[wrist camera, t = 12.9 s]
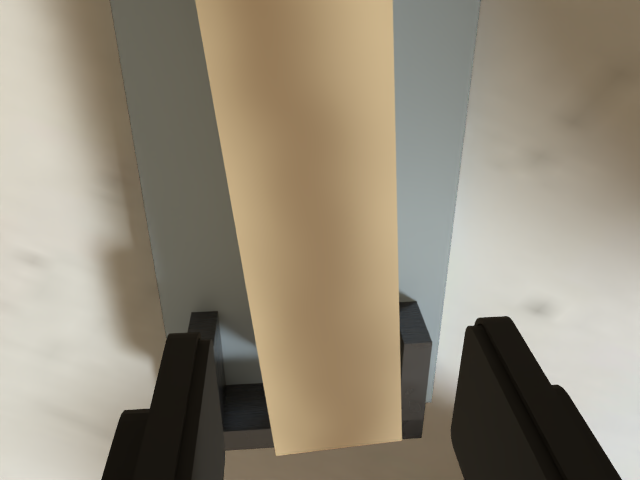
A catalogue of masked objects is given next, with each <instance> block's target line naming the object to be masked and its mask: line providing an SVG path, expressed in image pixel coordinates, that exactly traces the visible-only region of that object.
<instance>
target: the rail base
mask: <svg viewBox="0 0 640 480" xmlns="http://www.w3.org/2000/svg"><path fill="white" fill-rule="evenodd" d="M480 2H481V0H393V36H394V84H395V132H396V179H397V227H398V274H399V322H400V369H401V417H402V439H411V438H421V437H422V428H423V420H424V411H425V403H426V402H432V393H433V385H434V377H435V369H436V361H437V353H438V345H439V336H440V328H441V320H442V312H443V304H444V296H445V287H446V279H447V271H448V263H449V255H450V247H451V239H452V230H453V222H454V214H455V206H456V198H457V190H458V182H459V173H460V165H461V157H462V149H463V141H464V133H465V125H466V116H467V108H468V100H469V92H470V84H471V76H472V67H473V59H474V51H475V43H476V35H477V27H478V19H479V10H480ZM110 4H111V10H112V16H113V21H114V27H115V33H116V39H117V45H118V51H119V57H120V63H121V69H122V75H123V81H124V87H125V93H126V99H127V105H128V111H129V117H130V123H131V129H132V135H133V141H134V147H135V153H136V159H137V165H138V171H139V177H140V183H141V189H142V195H143V201H144V207H145V213H146V219H147V225H148V231H149V237H150V243H151V249H152V255H153V261H154V267H155V273H156V279H157V285H158V291H159V297H160V303H161V309H162V314H163V320H164V326H165V332H166V338H167V336H168V334H169V333H188V332H200V334H201V338H202V340H207V339H211V340H212V342H213V350H214V358H215V367H216V375H217V383H218V392H219V400H220V409H221V417H222V426H223V434H224V443H225V450H240V449H256V448H271V447H274V442H273V436H272V431H271V425H270V419H269V414H268V408H267V403H266V397H265V391H264V386H263V380H262V374H261V369H260V363H259V357H258V352H257V346H256V341H255V335H254V329H253V324H252V318H251V312H250V307H249V301H248V295H247V290H246V284H245V279H244V273H243V267H242V262H241V256H240V250H239V245H238V239H237V233H236V228H235V222H234V217H233V211H232V205H231V200H230V194H229V188H228V183H227V177H226V171H225V166H224V160H223V155H222V149H221V143H220V138H219V132H218V126H217V121H216V115H215V109H214V104H213V98H212V93H211V87H210V81H209V76H208V70H207V64H206V59H205V53H204V47H203V42H202V36H201V31H200V25H199V19H198V14H197V8H196V2H195V0H110Z"/></svg>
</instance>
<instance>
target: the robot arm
mask: <svg viewBox="0 0 640 480" xmlns="http://www.w3.org/2000/svg"><path fill="white" fill-rule="evenodd" d="M451 439H452V444H453V448H454V451H455V454H456V457H457V460H458V462H459V465H460V468H461V471H462V474H463V477H464V480H622V479H621V478H620V476H619V474H618V473H617V471H616V470H615V468H614V466H613V465H612V463H611V462H610V460H609V459H608V457H607V455H606V454H605V452H604V451H603V449H602V447H601V446H600V444H599V443H598V441H597V439H596V438H595V436H594V435H593V433H592V431H591V430H590V428H589V427H588V425H587V423H586V422H585V420H584V419H583V417H582V416H581V414H580V412H579V411H578V409H577V408H576V406H575V404H574V403H573V401H572V400H571V398H570V396H569V395H568V393H567V392H566V391H565V390H564V389H563V388H562V387H561V386H559V385H551V384H550V382H549V380H548V379H547V377H546V376H545V374H544V372H543V371H542V369H541V367H540V366H539V364H538V362H537V361H536V359H535V357H534V356H533V354H532V352H531V351H530V349H529V347H528V346H527V344H526V342H525V341H524V339H523V337H522V336H521V334H520V332H519V331H518V329H517V328H516V326H515V324H514V323H513V321H512V320H511V318H510V317H507V316H504V317H484V318H478V319H477V320H476V322H475V325H474V326H468V327H467V328H466V331H465V337H464V344H463V351H462V357H461V364H460V371H459V378H458V384H457V391H456V398H455V404H454V411H453V418H452V424H451ZM224 465H225V443H224V434H223V426H222V417H221V409H220V400H219V392H218V383H217V375H216V367H215V358H214V350H213V342H212V340H211V339H207V340H202V338H201V334H200V332H188V333H169V334H168V336H167V340H166V344H165V348H164V352H163V356H162V360H161V365H160V369H159V373H158V377H157V381H156V385H155V390H154V394H153V398H152V402H151V406H150V409H137V410H124V412H123V413H122V414H121V417H120V419H119V422H118V425H117V429H116V432H115V435H114V439H113V442H112V445H111V449H110V452H109V456H108V459H107V462H106V466H105V469H104V472H103V476H102V479H101V480H223V477H224Z"/></svg>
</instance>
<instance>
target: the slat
mask: <svg viewBox="0 0 640 480" xmlns="http://www.w3.org/2000/svg"><path fill="white" fill-rule="evenodd" d="M195 2H196V8H197V14H198V19H199V25H200V31H201V36H202V42H203V47H204V53H205V59H206V64H207V70H208V76H209V81H210V87H211V93H212V98H213V104H214V109H215V115H216V121H217V126H218V132H219V138H220V143H221V149H222V155H223V160H224V166H225V171H226V177H227V183H228V188H229V194H230V200H231V205H232V211H233V217H234V222H235V228H236V233H237V239H238V245H239V250H240V256H241V262H242V267H243V273H244V279H245V284H246V290H247V295H248V301H249V307H250V312H251V318H252V324H253V329H254V335H255V341H256V346H257V352H258V357H259V363H260V369H261V374H262V380H263V386H264V391H265V397H266V403H267V408H268V414H269V419H270V425H271V431H272V436H273V442H274V448H275V453H276V456H281V455H289V454H297V453H305V452H313V451H322V450H330V449H338V448H346V447H354V446H363V445H371V444H379V443H387V442H395V441H402V417H401V369H400V322H399V274H398V227H397V179H396V132H395V84H394V36H393V0H195Z"/></svg>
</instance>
